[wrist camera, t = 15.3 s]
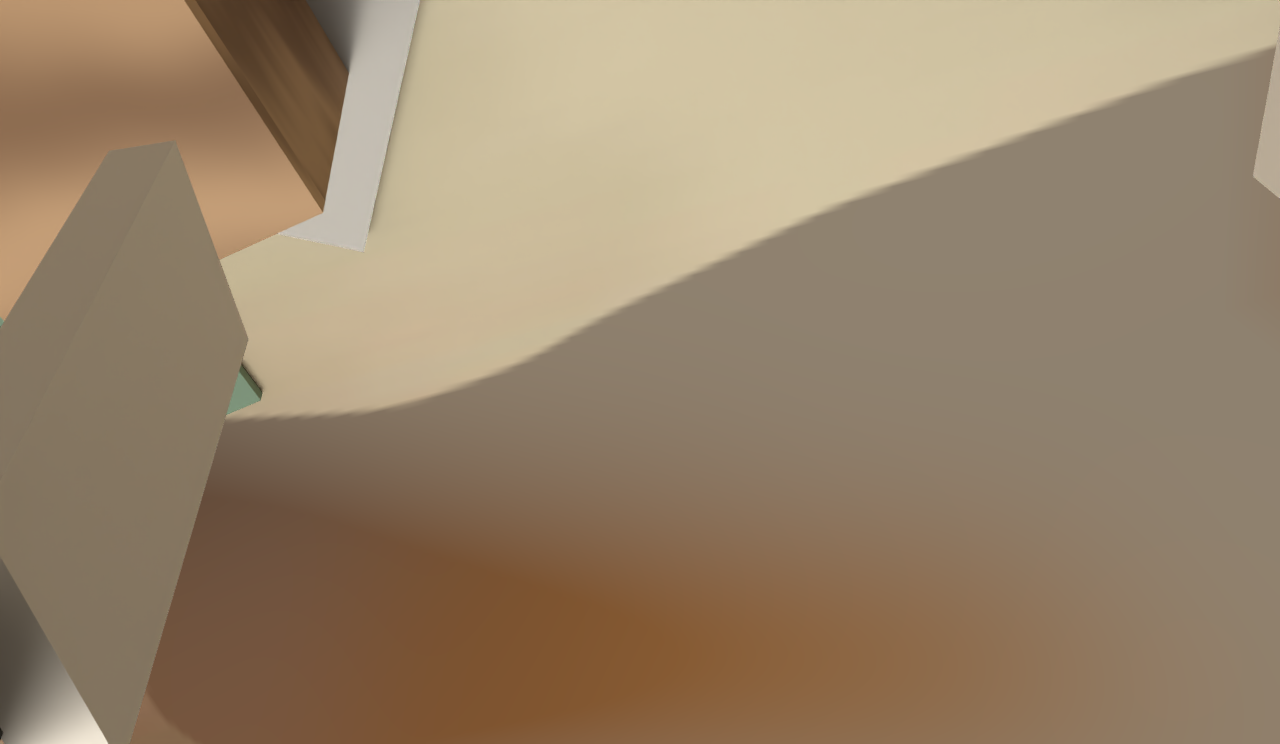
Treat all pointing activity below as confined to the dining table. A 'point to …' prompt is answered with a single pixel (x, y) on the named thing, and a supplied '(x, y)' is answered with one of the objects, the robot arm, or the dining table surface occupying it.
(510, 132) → the dining table surface
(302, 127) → the wooden block
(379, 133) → the board
